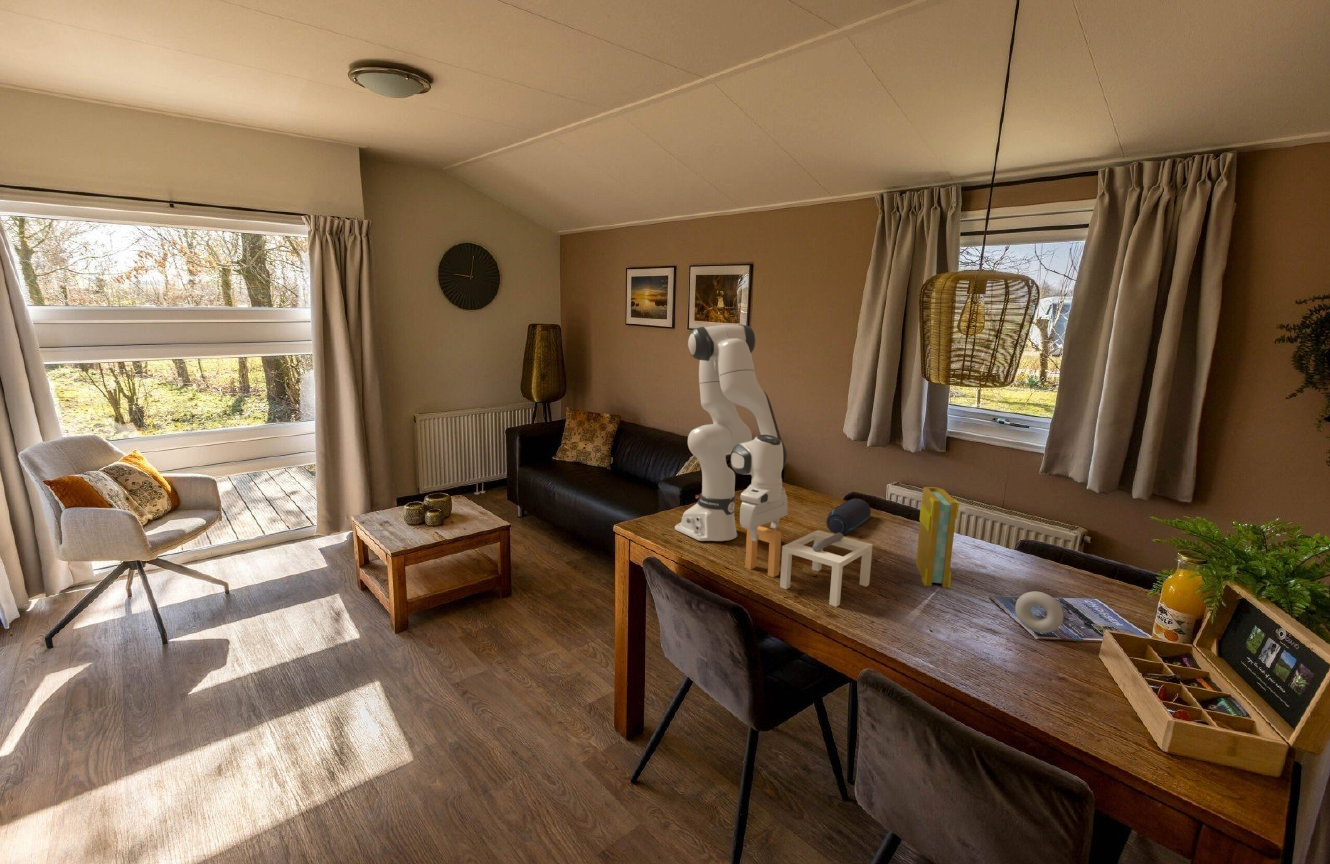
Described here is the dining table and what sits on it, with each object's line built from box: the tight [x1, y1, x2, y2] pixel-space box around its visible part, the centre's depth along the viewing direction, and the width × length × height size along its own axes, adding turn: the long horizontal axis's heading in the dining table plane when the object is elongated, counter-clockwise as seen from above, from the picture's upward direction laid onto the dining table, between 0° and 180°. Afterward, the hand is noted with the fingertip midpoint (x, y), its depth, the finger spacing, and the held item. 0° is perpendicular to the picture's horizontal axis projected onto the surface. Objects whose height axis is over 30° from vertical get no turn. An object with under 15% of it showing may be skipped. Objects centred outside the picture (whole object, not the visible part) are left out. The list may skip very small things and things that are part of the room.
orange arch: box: [744, 525, 782, 578], centre depth 176 cm, size 10×3×13 cm, turn 47°
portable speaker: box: [825, 498, 872, 536], centre depth 216 cm, size 25×10×10 cm, turn 144°
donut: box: [1014, 590, 1064, 634], centre depth 143 cm, size 10×4×10 cm, turn 48°
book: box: [915, 486, 960, 589], centre depth 175 cm, size 17×7×25 cm, turn 168°
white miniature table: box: [779, 529, 874, 608], centre depth 166 cm, size 17×20×14 cm
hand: (763, 536), depth 175 cm, fingers open, 8 cm apart
